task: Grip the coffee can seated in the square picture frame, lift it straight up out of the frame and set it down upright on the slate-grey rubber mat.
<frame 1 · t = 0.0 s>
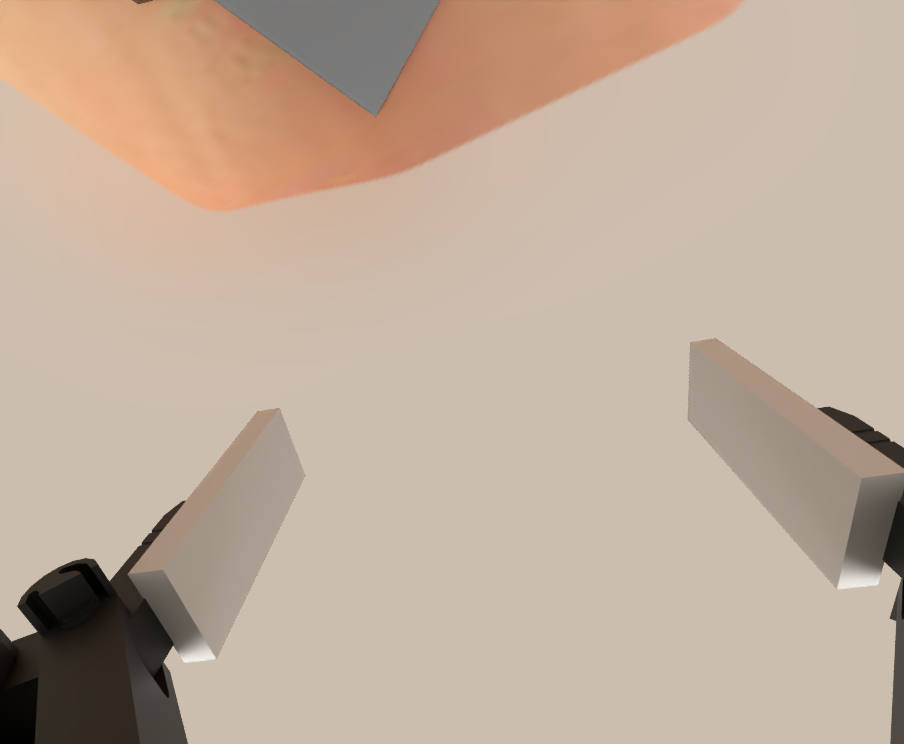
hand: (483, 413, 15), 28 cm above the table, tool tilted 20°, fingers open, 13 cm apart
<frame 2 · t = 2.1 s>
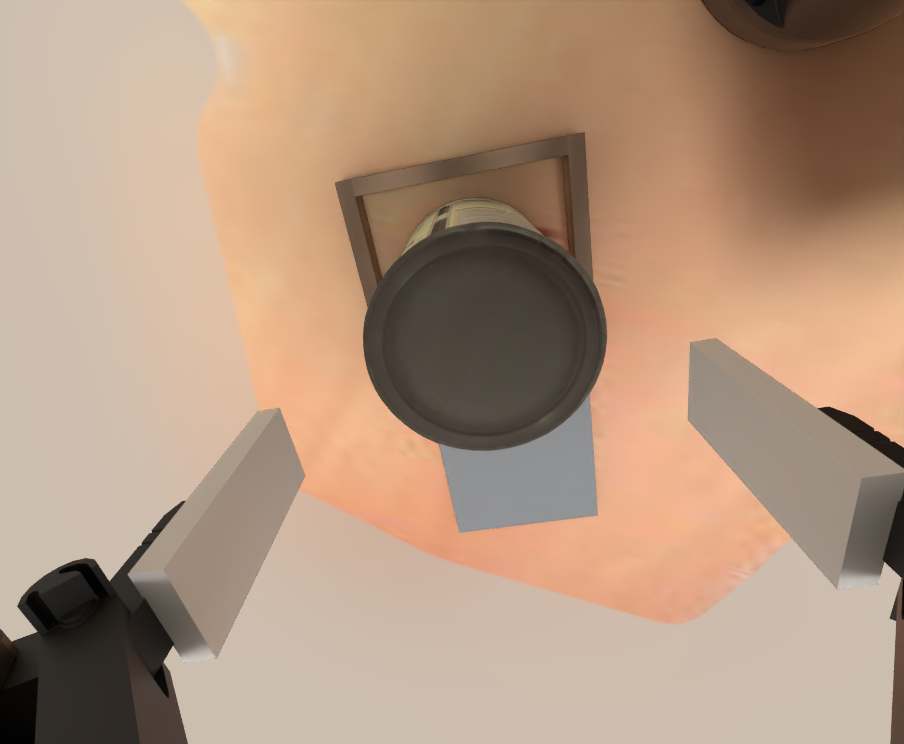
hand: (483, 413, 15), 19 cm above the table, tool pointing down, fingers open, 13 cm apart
coffee can: (475, 273, 33), resting in square picture frame
square picture frame: (475, 274, 32), on the table
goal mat: (518, 460, 39), on the table
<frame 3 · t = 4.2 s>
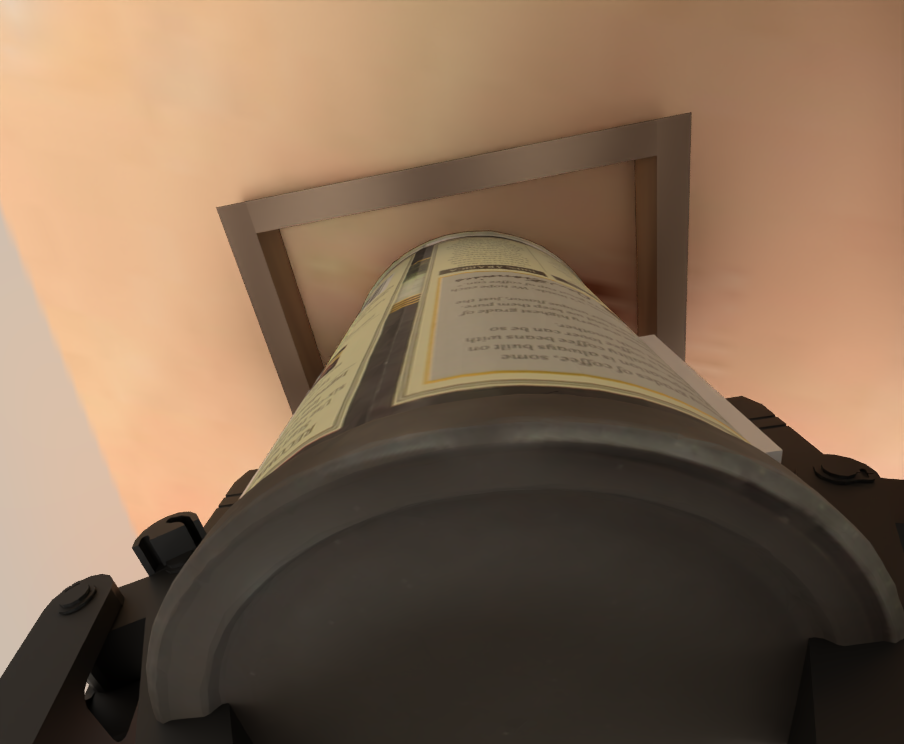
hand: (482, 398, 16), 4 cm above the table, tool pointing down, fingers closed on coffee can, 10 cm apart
coffee can: (478, 354, 20), resting in square picture frame, touching gripper
square picture frame: (478, 356, 19), on the table
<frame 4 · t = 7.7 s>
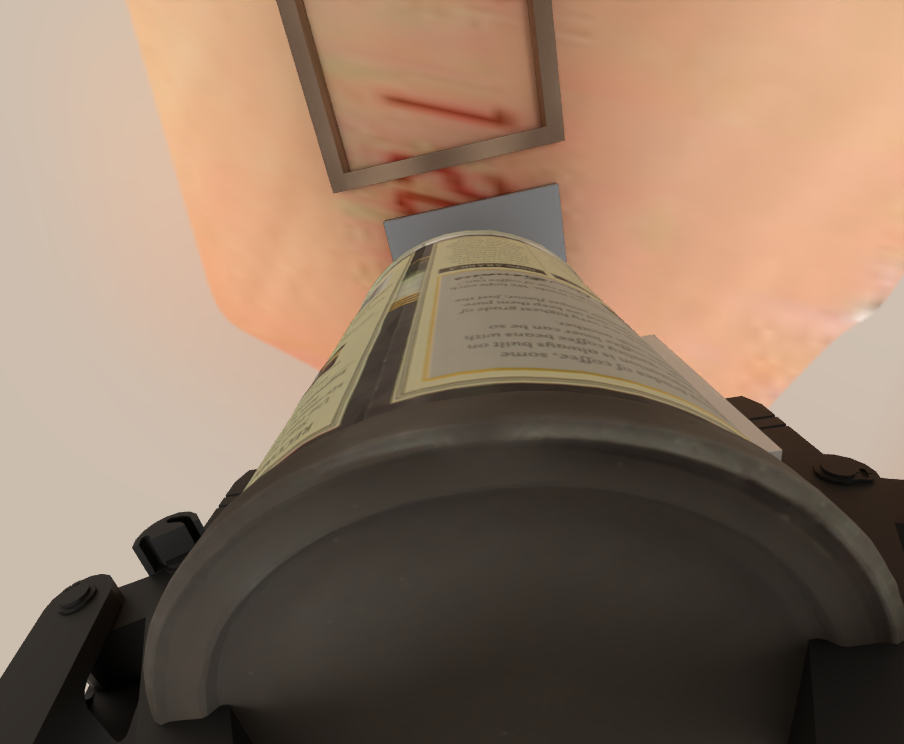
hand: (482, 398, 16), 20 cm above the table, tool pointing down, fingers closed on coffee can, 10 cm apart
coffee can: (478, 353, 20), point 16 cm above the table, touching gripper
square picture frame: (421, 34, 28), on the table
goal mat: (484, 285, 35), on the table
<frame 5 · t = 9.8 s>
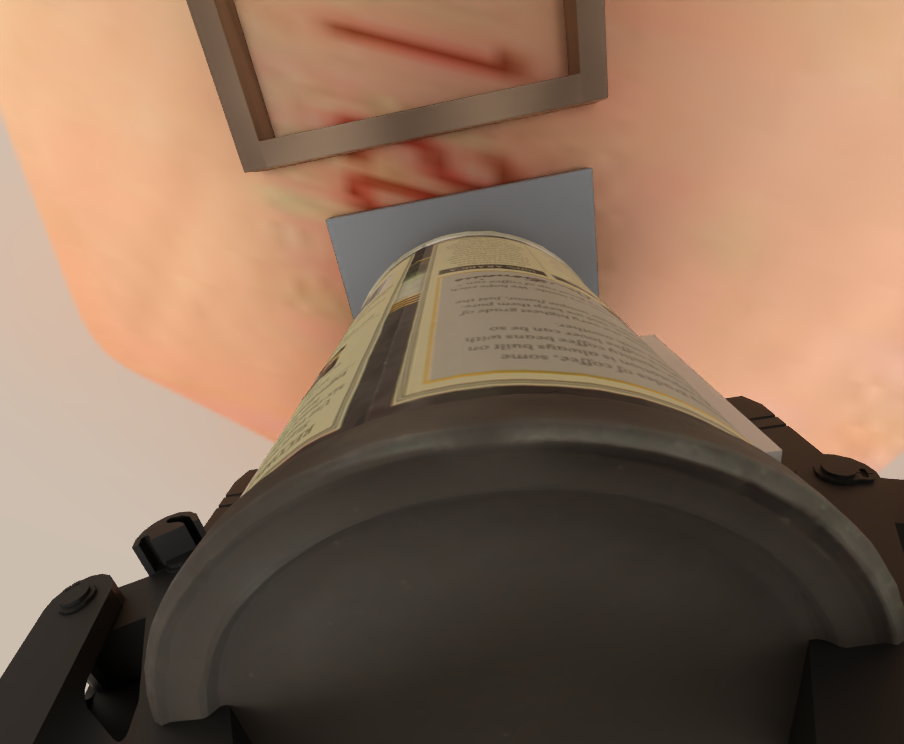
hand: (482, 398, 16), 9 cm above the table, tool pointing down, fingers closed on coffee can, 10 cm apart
coffee can: (478, 354, 20), point 5 cm above the table, touching gripper
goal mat: (476, 315, 24), on the table
when the fingers open (6 cm above the table, at t = 11.4 s): coffee can drops 1 cm, resting on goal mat.
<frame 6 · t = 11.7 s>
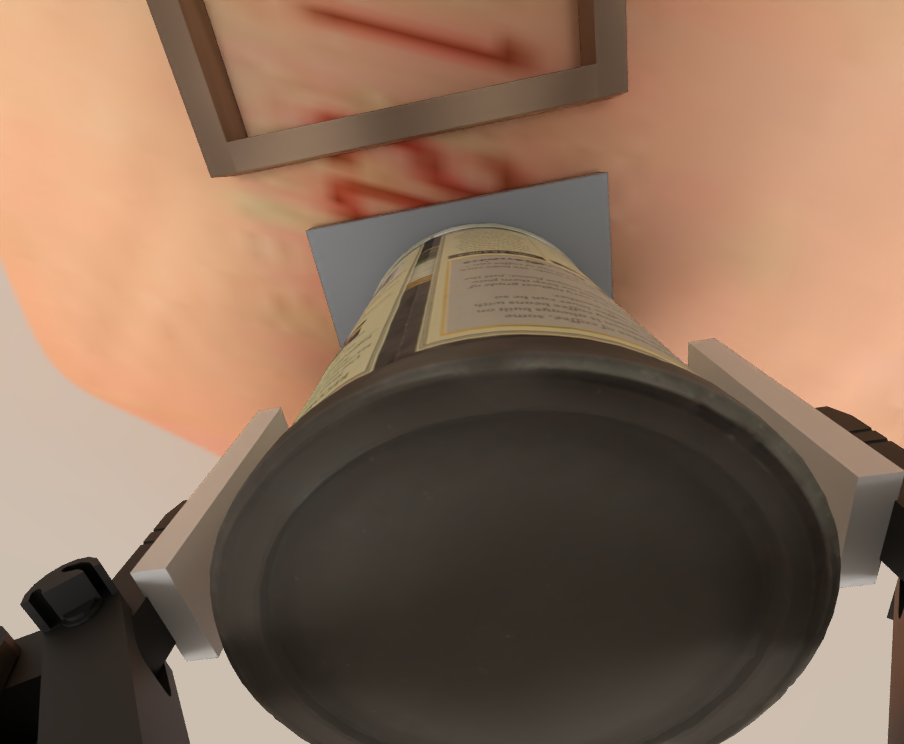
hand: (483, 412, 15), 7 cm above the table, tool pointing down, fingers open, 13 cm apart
coffee can: (482, 340, 21), point 1 cm above the table, touching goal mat
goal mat: (475, 336, 22), on the table
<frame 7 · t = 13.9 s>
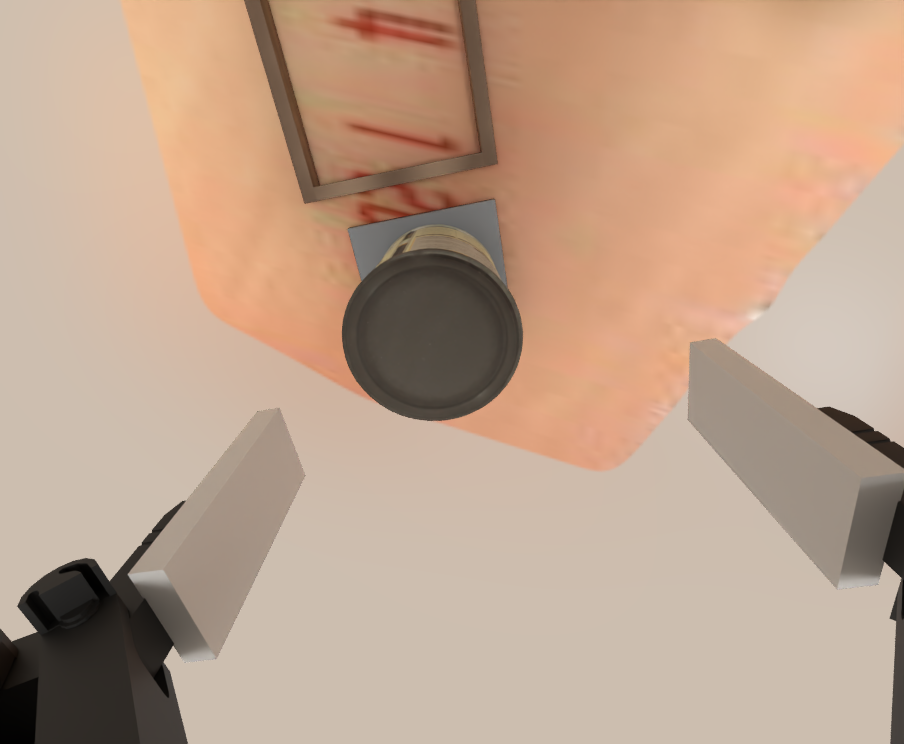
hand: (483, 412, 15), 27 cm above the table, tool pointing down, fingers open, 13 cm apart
coffee can: (438, 285, 40), point 1 cm above the table, touching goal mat
square picture frame: (378, 75, 34), on the table
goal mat: (435, 284, 40), on the table
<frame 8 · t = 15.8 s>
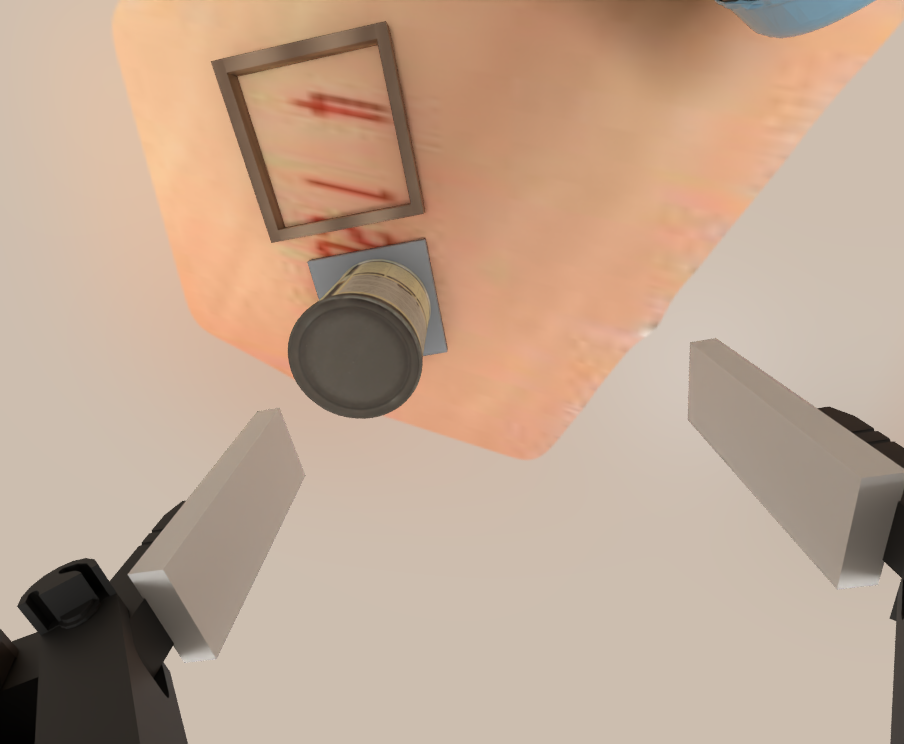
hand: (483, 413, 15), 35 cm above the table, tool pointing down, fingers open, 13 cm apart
coffee can: (382, 307, 49), point 1 cm above the table, touching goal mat
square picture frame: (329, 142, 43), on the table
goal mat: (381, 305, 50), on the table
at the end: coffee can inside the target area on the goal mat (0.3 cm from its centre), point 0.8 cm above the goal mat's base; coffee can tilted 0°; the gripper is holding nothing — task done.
